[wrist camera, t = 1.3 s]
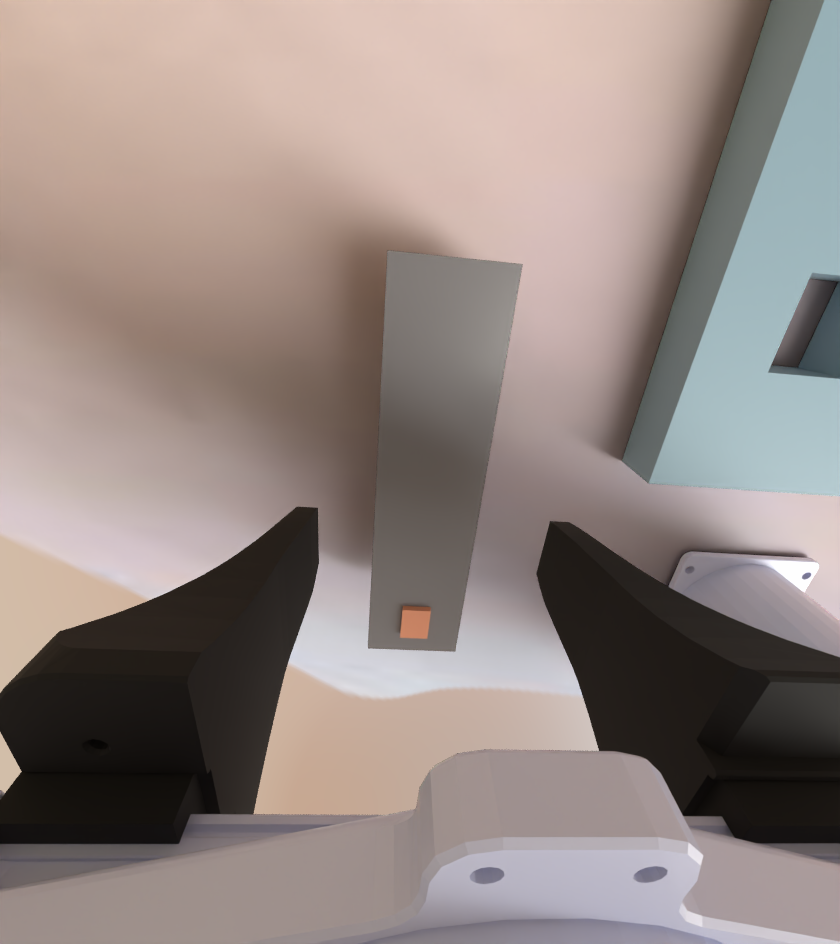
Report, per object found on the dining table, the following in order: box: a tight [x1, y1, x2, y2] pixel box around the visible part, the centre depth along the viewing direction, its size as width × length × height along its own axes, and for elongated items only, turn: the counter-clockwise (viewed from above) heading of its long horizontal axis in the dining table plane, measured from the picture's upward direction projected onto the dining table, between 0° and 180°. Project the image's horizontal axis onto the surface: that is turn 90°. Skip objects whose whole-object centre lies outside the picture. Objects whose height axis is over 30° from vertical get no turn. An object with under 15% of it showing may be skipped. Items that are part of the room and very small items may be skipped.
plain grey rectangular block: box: [368, 250, 523, 651], centre depth 18 cm, size 16×4×5 cm, turn 175°
